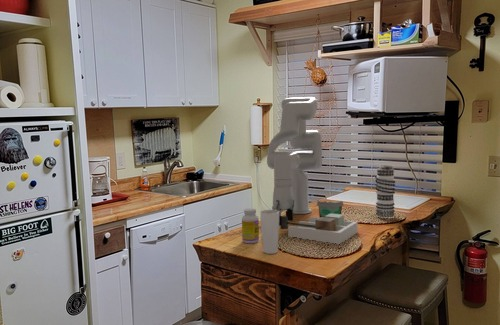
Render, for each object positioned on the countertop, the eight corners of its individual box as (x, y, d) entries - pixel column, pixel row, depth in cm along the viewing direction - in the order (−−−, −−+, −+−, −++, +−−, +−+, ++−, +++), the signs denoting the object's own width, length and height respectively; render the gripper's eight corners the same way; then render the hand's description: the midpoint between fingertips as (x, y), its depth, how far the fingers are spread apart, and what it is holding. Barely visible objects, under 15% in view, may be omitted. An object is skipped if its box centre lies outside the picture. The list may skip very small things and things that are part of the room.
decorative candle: (372, 215, 206) (373, 165, 204) (391, 215, 206) (392, 164, 203) (377, 219, 197) (378, 167, 195) (397, 219, 197) (398, 166, 194)
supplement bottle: (256, 244, 162) (255, 211, 160) (240, 243, 163) (239, 211, 162) (260, 239, 168) (260, 208, 167) (245, 238, 170) (244, 207, 169)
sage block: (325, 230, 174) (325, 216, 174) (330, 227, 179) (330, 213, 179) (338, 232, 171) (338, 217, 170) (344, 228, 176) (344, 214, 175)
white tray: (288, 236, 171) (288, 226, 170) (309, 226, 187) (309, 216, 187) (339, 244, 159) (339, 232, 158) (357, 232, 175) (357, 221, 175)
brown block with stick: (277, 229, 176) (277, 215, 176) (284, 226, 181) (284, 212, 181) (329, 236, 163) (329, 221, 163) (335, 233, 168) (335, 218, 167)
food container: (314, 223, 192) (314, 202, 191) (317, 220, 198) (317, 199, 197) (341, 225, 188) (341, 203, 187) (343, 222, 194) (343, 200, 193)
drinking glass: (266, 256, 147) (265, 214, 145) (258, 251, 153) (257, 210, 152) (283, 253, 149) (282, 212, 148) (274, 248, 156) (273, 208, 154)
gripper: (285, 180, 185) (286, 217, 187) (265, 185, 171) (265, 226, 172) (300, 180, 181) (301, 219, 182) (280, 186, 167) (281, 228, 168)
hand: (283, 222), depth 177 cm, fingers open, 9 cm apart
